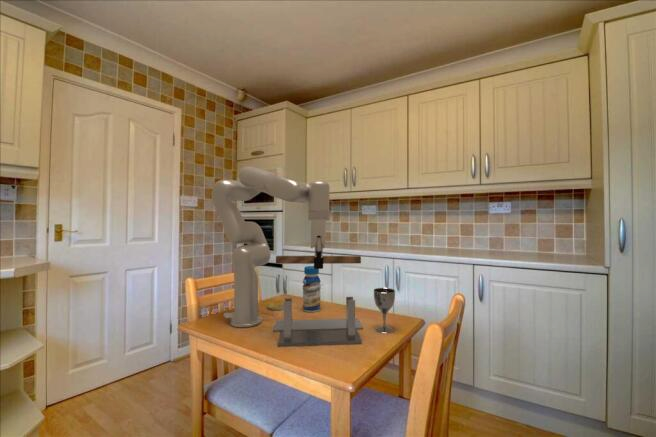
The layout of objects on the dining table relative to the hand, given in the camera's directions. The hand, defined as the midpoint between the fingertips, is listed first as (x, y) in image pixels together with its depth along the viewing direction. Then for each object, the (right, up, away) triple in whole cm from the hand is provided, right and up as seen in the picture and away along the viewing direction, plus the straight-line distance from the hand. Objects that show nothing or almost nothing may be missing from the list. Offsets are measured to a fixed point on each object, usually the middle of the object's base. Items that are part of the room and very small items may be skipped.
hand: (318, 267), depth 108 cm
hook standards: (0, -25, -2) cm, 25 cm away
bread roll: (-21, -26, +36) cm, 49 cm away
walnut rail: (0, +2, 0) cm, 2 cm away
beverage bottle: (-4, -25, +32) cm, 41 cm away
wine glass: (+25, -25, +7) cm, 36 cm away
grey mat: (-1, -25, +12) cm, 27 cm away
